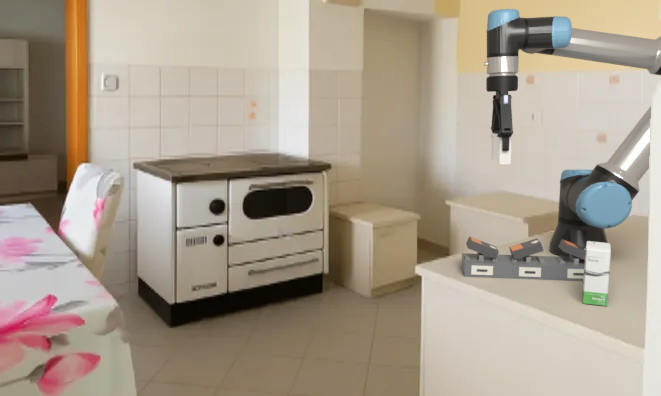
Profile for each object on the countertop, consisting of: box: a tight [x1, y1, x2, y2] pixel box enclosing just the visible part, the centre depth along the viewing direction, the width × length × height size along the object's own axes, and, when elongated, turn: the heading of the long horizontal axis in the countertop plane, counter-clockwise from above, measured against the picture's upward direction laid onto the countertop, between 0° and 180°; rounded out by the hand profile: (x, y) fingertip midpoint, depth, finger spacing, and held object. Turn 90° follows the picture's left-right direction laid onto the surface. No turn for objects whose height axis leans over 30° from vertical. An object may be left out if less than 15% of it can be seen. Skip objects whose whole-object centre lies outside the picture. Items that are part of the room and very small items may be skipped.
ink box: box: [582, 241, 612, 307], centre depth 133 cm, size 9×5×12 cm, turn 158°
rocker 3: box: [558, 239, 586, 260], centre depth 150 cm, size 7×5×2 cm
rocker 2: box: [508, 238, 544, 260], centre depth 151 cm, size 7×5×2 cm
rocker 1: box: [465, 236, 500, 259], centre depth 153 cm, size 7×5×2 cm
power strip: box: [461, 252, 585, 282], centre depth 152 cm, size 30×9×5 cm, turn 83°
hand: (500, 161), depth 158 cm, fingers open, 13 cm apart
